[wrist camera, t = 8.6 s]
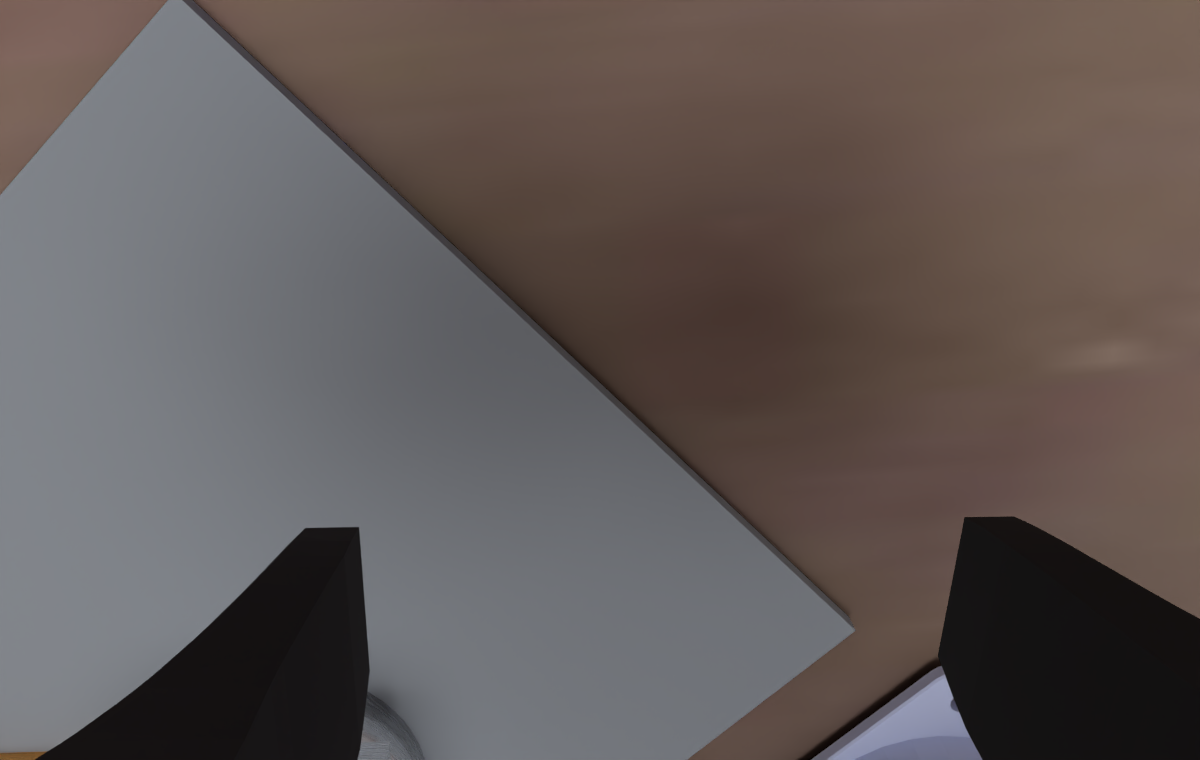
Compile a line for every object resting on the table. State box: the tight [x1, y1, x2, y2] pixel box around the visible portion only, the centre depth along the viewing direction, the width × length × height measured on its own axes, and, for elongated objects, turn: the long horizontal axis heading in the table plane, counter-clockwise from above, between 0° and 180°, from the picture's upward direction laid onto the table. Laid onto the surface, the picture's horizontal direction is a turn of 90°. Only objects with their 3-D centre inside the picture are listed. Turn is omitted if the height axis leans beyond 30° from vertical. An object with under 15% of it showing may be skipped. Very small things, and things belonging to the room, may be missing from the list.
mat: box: [0, 0, 856, 760], centre depth 23 cm, size 19×22×1 cm
